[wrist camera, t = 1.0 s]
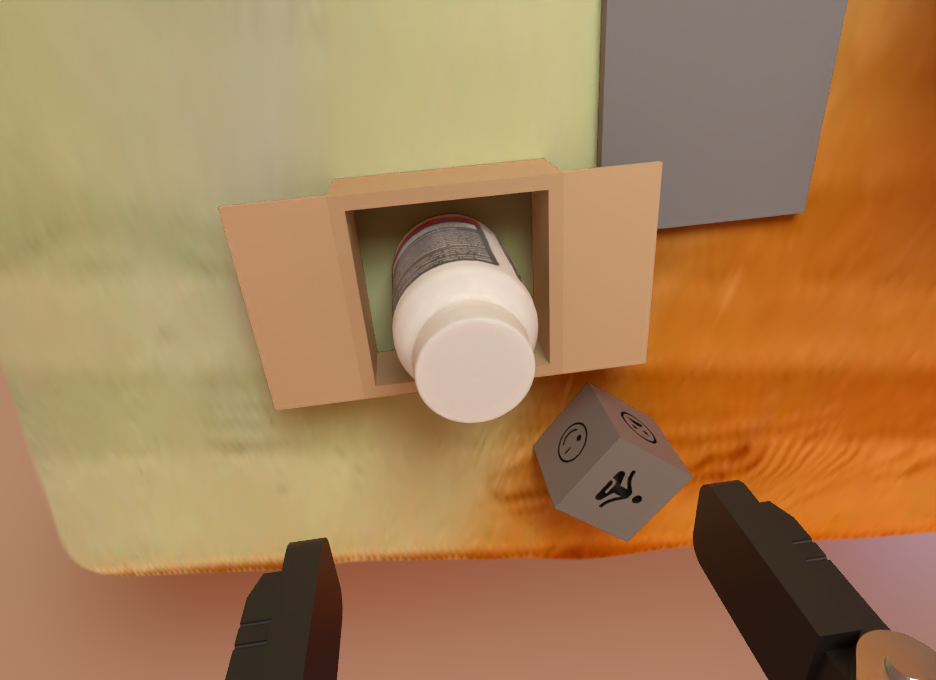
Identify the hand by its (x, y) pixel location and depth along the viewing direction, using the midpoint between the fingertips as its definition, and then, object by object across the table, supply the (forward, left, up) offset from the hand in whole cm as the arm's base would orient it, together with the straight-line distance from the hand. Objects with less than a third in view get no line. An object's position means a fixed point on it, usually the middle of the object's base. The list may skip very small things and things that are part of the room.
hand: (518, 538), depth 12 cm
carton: (0, 0, -17) cm, 17 cm away
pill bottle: (0, 0, -17) cm, 17 cm away
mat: (-6, +12, -17) cm, 21 cm away
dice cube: (+11, +7, -17) cm, 21 cm away
